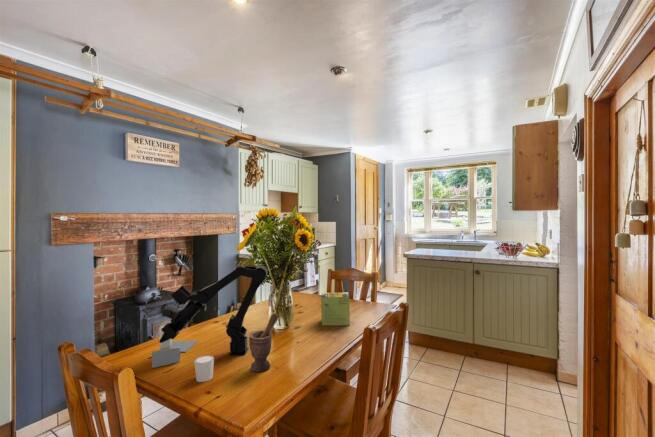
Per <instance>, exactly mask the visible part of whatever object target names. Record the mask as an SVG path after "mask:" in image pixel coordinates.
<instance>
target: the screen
mask: <svg viewBox="0 0 655 437" xmlns="http://www.w3.org/2000/svg"><path fill="white" fill-rule="evenodd" d="M180 362H181V353H180V346H179V347H174V348H169V349H164V350H160V349H159V350H154V351H151V368H152V369H154V368H158V367H163V366H168V365H173V364H176V363H180Z"/></svg>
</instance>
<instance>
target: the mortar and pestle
mask: <svg viewBox="0 0 655 437" xmlns="http://www.w3.org/2000/svg"><path fill="white" fill-rule="evenodd" d="M278 319H279V315H277V314H276V313H273V314H271V316H270V318H269V320H268V323H267V326H266V327H265V330H258V331H257V330H256V331H254V332H251V333H249V334H248V337H249V338H248V339H249V340H248V341H249V350H250V354H251V356H252V358H253V359H254V361H252V363H251V364H250V371H253V372H257V373H261V372H265V371H267V370H269V369H270V368H271V364H270V360H268V359H267V358H268V356H269V355H270V353H271V350H272V337H273V334H272V332H271V330H272V329H273V327H274V326H275V324H276V323H277V321H278Z"/></svg>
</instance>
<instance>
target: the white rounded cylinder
mask: <svg viewBox="0 0 655 437" xmlns="http://www.w3.org/2000/svg"><path fill="white" fill-rule="evenodd" d="M164 326H165V325H162V326H160V327H159V330H158V332H159V333H158V334H159V340H160V339H161V337H162V336H163V334H164V332H163V331H162V330H161V329H162V328H163V327H164ZM172 342H173V339H169V340H167V341H164V342H162V343H160V342H159V350H164V349H169V348H172Z"/></svg>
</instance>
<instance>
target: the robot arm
mask: <svg viewBox="0 0 655 437" xmlns="http://www.w3.org/2000/svg"><path fill="white" fill-rule="evenodd" d="M267 275H268V269H267V268H266V267H265V266H263V265H258V266H249V265H243V264H242V265H241V264H240V265H238V267H236V268H235V269H234V270H232V271H230V272H228V274H226V275H225V276H224V277H222V278H221V279H218V280H217V281H216V282H215V283H212V284H209V285H208V286H205V287H203V288H202V289H201V290H195V291H193V292H192V291H190V290H189V288H187V287H186V285H184V284H182V285H181V286H180V287H179V288H177V289H176V290H175V291H174V292H173V293H172V294H171V295H170V298H171V299H172V300H173V301H174V302H175V303H177V305H179V306H184V307H183V308H181V309H178V308H177V307H174V306H170V305H167V306H165V307H164V309H163V310H162V311H161V316H162V317H164V318H168V319H170V322H169V323H166V324H165V325H163V326H164V327H163V328H162V329H161V330H162V331H163V332H164V334H163V336H162V337H161V339H160V338H159V340H158V342H159V344H160V343H162V342H164V341H167V340H169V339H172V340H174V339H175V338H176V337H177V336H178V335H179V334H180V331H182V330H183V329H184V328H185V327H186V326H187V325H188V324H189V323H190V321H191V320H193V318H194V317H196V315H197V314H198V313H199V312H200V311H201V312H203V313H205V312H206V311H207V303H208V302H209V301H210V300H212V299H213V298H214V297H215V295H216V294H218V293H219V291H221V290H222V289H224V288H225V287H227V286H228V285H230V284H231V283H232V282H234V281H235V280H237V279H238V278H239V277H241V276H243V277H247V278H249V279H251V280H250V282H249V283H250V284H249V287H248V289H247V291H246V293H245V296H244V297H243V299H242V301H241V304H240V305H239V308H238V309H237V312H236V313H235V315H234V314H231V316H230V318H229V319H228V322H227V324H226V326H225V328H226V330H225V332H226V335H227V336H228V337H229V338H230V342H229V355H230V356H244V355H246V354H247V352H248V351H249V350H250V347H248V336H246V335H247V332H248V329H247V328H245V326H243V325H244V324H243V323H244V321H245V316H246V315H247V312H248V310H249V308H250V306H251V303H252V301H253V299H254V297H255V295H256V292H257V291H258V289H259V287H260V286H261V285H262V283H263V282H264V280H265V279H266V277H267Z"/></svg>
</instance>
